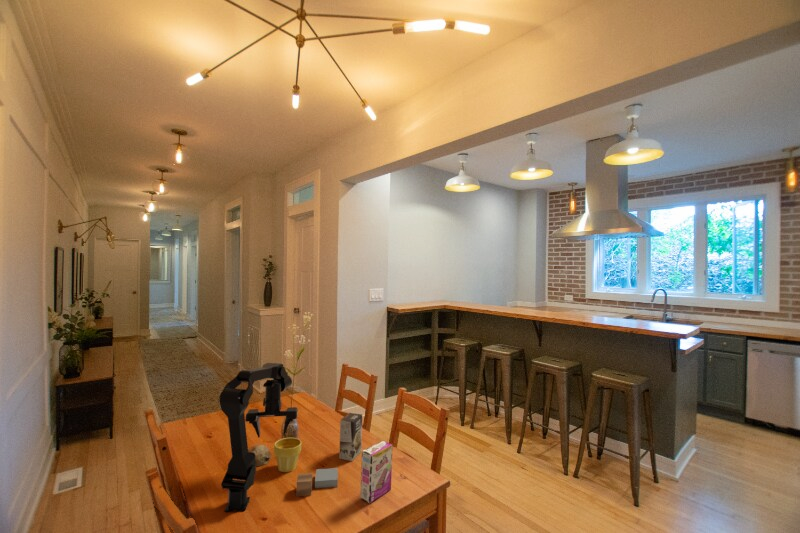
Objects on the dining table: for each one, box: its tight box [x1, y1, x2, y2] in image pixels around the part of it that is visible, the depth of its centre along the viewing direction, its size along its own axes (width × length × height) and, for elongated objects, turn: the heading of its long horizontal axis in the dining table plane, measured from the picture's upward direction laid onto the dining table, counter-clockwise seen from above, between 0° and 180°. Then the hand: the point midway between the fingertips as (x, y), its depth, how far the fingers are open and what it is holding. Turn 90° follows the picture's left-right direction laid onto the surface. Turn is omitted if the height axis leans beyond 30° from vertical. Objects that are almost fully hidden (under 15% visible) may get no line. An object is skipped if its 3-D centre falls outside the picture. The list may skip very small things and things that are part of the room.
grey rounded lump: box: [248, 444, 272, 467], centre depth 151 cm, size 10×10×8 cm
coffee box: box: [338, 412, 363, 462], centre depth 157 cm, size 9×6×16 cm
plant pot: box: [273, 437, 303, 473], centre depth 146 cm, size 10×10×10 cm
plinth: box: [314, 467, 339, 489], centre depth 137 cm, size 8×8×2 cm
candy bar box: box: [359, 440, 393, 505], centre depth 130 cm, size 11×5×16 cm, turn 141°
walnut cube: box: [295, 472, 313, 497], centre depth 130 cm, size 5×5×5 cm
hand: (271, 436), depth 143 cm, fingers open, 9 cm apart
